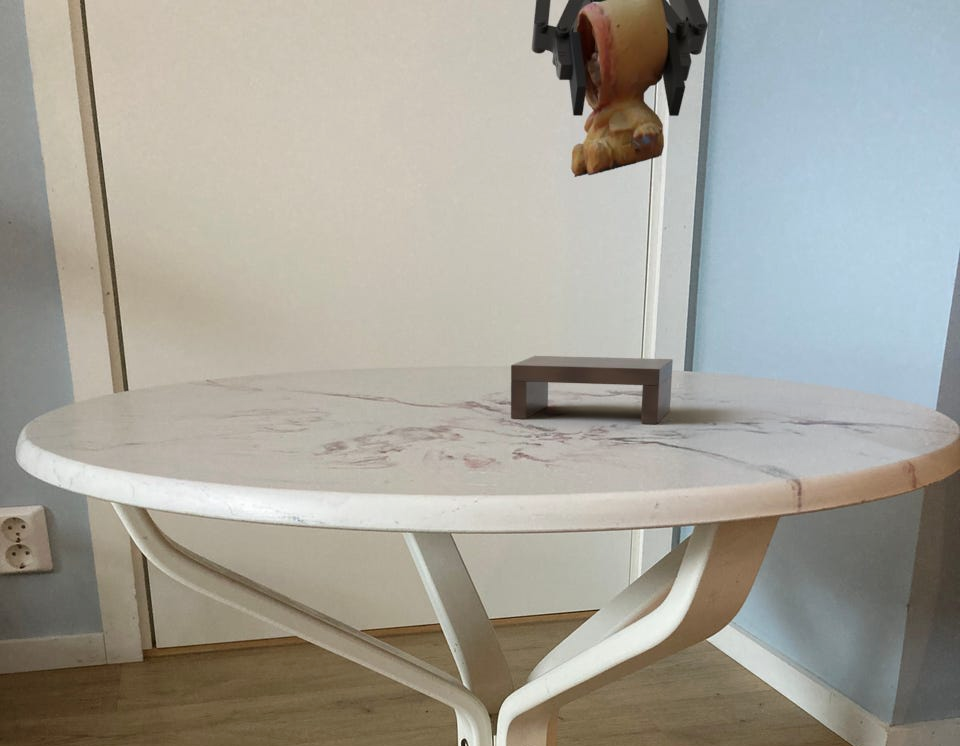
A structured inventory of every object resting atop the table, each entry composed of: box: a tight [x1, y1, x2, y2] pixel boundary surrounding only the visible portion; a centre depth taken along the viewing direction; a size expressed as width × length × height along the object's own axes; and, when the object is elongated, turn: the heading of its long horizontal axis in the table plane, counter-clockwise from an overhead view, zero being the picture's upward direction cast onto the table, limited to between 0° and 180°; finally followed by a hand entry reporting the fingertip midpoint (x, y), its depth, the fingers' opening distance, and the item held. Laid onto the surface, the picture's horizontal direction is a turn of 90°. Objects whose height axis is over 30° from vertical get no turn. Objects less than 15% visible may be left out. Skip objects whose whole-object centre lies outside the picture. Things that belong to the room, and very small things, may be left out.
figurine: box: [570, 0, 668, 178], centre depth 92 cm, size 10×8×15 cm
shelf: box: [510, 355, 674, 425], centre depth 107 cm, size 14×9×5 cm, turn 73°
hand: (628, 101), depth 90 cm, fingers closed on figurine, 7 cm apart
